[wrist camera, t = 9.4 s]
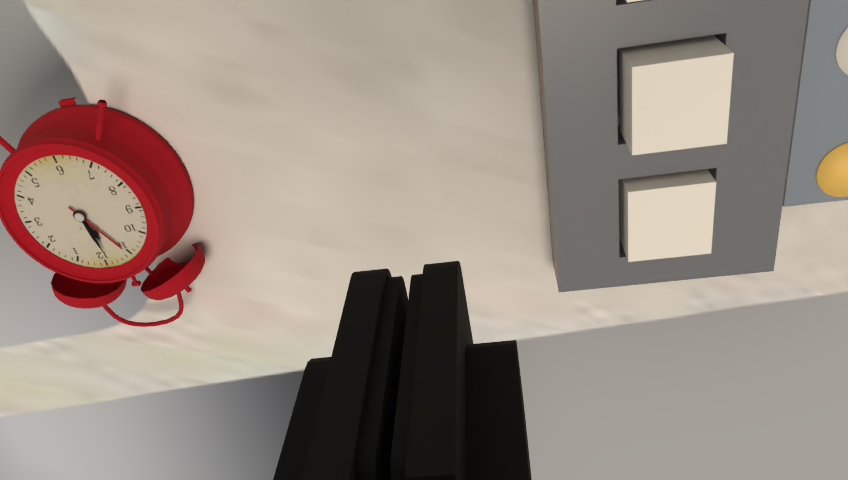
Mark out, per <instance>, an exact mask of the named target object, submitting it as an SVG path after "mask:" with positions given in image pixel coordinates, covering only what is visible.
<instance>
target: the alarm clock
mask: <svg viewBox="0 0 848 480" xmlns="http://www.w3.org/2000/svg"><path fill="white" fill-rule="evenodd" d="M75 98H76V97H73V98H67V99H62V100H60V101H59V104H60V106H61V108H58V109H54V110H53V111H50V112H48V113H46V114H44V115H43V116H41V117H40V118H39V119H37V120H36V121H34V122H33V123H32V124H31V125H30V126H29V127H28V129H27V130H26V131H25V133H24V134H23V136H22V137H21V139H20V142H19V144H18V148H17V149H16V150H15V149H14V148H13V147H12V146H11V145H10V144H8V143H7V142H6V141H5V140H4V139H3V138H2V137H1V136H0V144H1V145H2V146H3V147H4V148H5V149H7V150H8V151H9V152H10V153H11V154H10V155H9V157H8V158H7V159H6V160H5V162H4V163H3V165H2V167H1V170H0V218H1V221H2V222H3V224H4V226H5V228H6V230H7V231H8V233H9V234H10V235H11V237H12V238H13V239H14V241H15V242H16V243H17V244H18V245H19V247H21V248H22V249H23V250H24V251H25V252H26V253H27V254H28V255H29V256H31V257H32V258H33V259H35V260H36V261H37V262H39V263H40V264H42V265H43V266H45V267H47V268H48V269H50V270H52V271H54V272H56V273H55V274H54V276H53V279H52V282H51V285H52V289H53V292H54V294H55V296H56V297H57V298H58V299H59V300H60V301H61V302H63V303H64V304H66V305H69V306H72V307H76V308H96V307H101V306H103V307H104V309H105V310H106V311H107V312H108V313H109V314H110V315H111V316H112V317H113V318H115V319H117V320H118V321H120V322H122V323H125V324H128V325H132V326H143V327H145V326H157V325H162V324H167V323H169V322H172V321H174V320H176V319H177V318H179V317H180V315H181V314H182V312H183V300H182V296H181V291H182V290H184V289H185V290H186V291H187V292H191V290H192V289H191V288H190V287H189V285H190V284H191V283H192V282H193V281H194V280H195V279H196V277H197V276H198V275H199V274H200V272H201V270H202V268H203V266H204V262H205V257H204V254H203V252H202V250H201V249H200V248H199V246H197V245H196V244H193V245H192V246H193V247H194V248H195V249H196V251H197V252H196V253H195V255H194V256H193V258H192V259H191V261H190V262H188V263H185V264H177V263H175V262H173V261H172V260H170V259H169V258H166V259H165V260H164V261H163V262H162V263H160V264H159V265H158V266H157V267H156V268H155V269H154V270H153V271H151V270H150V269H149V268H148V266H149V265H150V264H151V263H152V262H153V261H154V260H155V258H156V257H157V256H159V255H161V254H163V253H165V252H166V251H168V250H169V249H171V248H172V247H173V246H174V245H176V243H177V242H178V241H179V240H180V239H181V238H182V236H183V235H184V233H185V232H186V230H187V228H188V226H189V224H190V221H191V218H192V214H193V206H194V199H193V190H192V186H191V182H190V179H189V176H188V174H187V172H186V169H185V168H184V166H183V164H182V162H181V160H180V159H179V157H178V156H177V155H176V153H175V152H174V151H173V149H172V148H171V147H170V146H169V145H168V144H167V143H166V142H165V141H164V140H163V139H162V138H161V137H160V136H159V135H158V134H157V133H156V132H154V131H153V130H152V129H150V128H149V127H148V126H146V125H145V124H143V123H141V122H140V121H138V120H137V119H135V118H133V117H131V116H129V115H126V114H124V113H122V112H119V111H116V110H113V109H109V108H105V107H106V106H107V103H106V101H105V100H99V101H98V103H97V105H98V106H94V105H76V103H75V101H74V99H75ZM144 269H145V270H146V271H147V272H148V273H149V275H148V277H147V278H146V279H145V281H144V282H143V284H142V287H141V291H142V292H143V293H144V294H145V295H146V296H147V297H148V298H150V299H154V300H162V299H166V298H170V297H172V296H174V295H176V294H177V297H178V301H179V311H178V313H177V314H176V315H175V316H173V317H171V318H169V319H167V320H162V321H157V322H149V323H141V322H132V321H128V320H125V319H123V318H121V317H119V316H118V315H116V314H115V313H114V312H113V311H112V310H111V309H110V308H109V307H108V306H107V304H109V303H111V302H113V301H114V300H116V299H117V298H118V297H119V296H120V295H121V293H122V292H123V290H124V288H125V286H126V281H127V279H128V278H130V277H131V278H132V280H133V282H132V286H139V285H141V282H140V281H137V280H136V278H135V276H134V275H136V274H138V273H139V272H141V271H143V270H144Z"/></svg>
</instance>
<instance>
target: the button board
mask: <svg viewBox="0 0 848 480" xmlns="http://www.w3.org/2000/svg"><path fill="white" fill-rule="evenodd" d="M808 4H809V0H641V1H635V2H628V3H627V2H626V1H625V0H534V13H535V27H536V40H537V53H538V67H539V80H540V93H541V107H542V120H543V133H544V147H545V160H546V173H547V187H548V200H549V213H550V227H551V240H552V253H553V265H554V270H555V275H556V280H557V285H558V290H559V292H566V291H576V290H586V289H596V288H607V287H617V286H627V285H637V284H647V283H657V282H667V281H677V280H687V279H697V278H707V277H717V276H727V275H737V274H748V273H758V272H768V271H774V263H775V256H776V248H777V241H778V233H779V225H780V218H781V210H782V202H783V195H784V187H785V179H786V172H787V164H788V157H789V149H790V141H791V134H792V126H793V118H794V111H795V103H796V95H797V88H798V80H799V73H800V65H801V57H802V50H803V42H804V34H805V27H806V19H807V11H808ZM709 35H714V36H715V37H716V38H717V39H719V40H720V41H721V42H722V43H723V44H724V45H725V46H726V47H728V48H729V49H730V50H731V51H732V52H733V53H734V58H733V71H732V83H731V96H730V109H729V122H728V135H727V144H721V145H713V146H705V147H697V148H689V149H681V150H672V151H664V152H656V153H648V154H640V155H632V154H631V152H630V150H629V148H628V146H627V144H626V142H625V140H624V138H623V136H622V134H621V132H620V82H619V48H625V47H632V46H639V45H646V44H653V43H660V42H667V41H674V40H681V39H688V38H695V37H702V36H709ZM702 169H708V171H709V172H710V173H711V175H712V176H713V178H714V179H715V181H716V193H715V207H714V221H713V235H712V249H711V254H702V255H692V256H682V257H673V258H663V259H653V260H644V261H634V262H628V260H627V257H626V255H625V252H624V249H623V246H622V244H621V241H620V238H619V186H618V179H627V178H635V177H643V176H652V175H660V174H669V173H677V172H686V171H694V170H702Z"/></svg>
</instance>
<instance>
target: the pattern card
mask: <svg viewBox="0 0 848 480" xmlns="http://www.w3.org/2000/svg"><path fill="white" fill-rule="evenodd" d="M839 200H848V0H809V4H808V11H807V19H806V27H805V34H804V42H803V50H802V57H801V65H800V73H799V80H798V88H797V95H796V103H795V111H794V118H793V126H792V134H791V141H790V149H789V157H788V164H787V172H786V179H785V187H784V195H783V202H782V205H783V206H784V207H785V206H794V205H803V204H812V203H821V202H830V201H839Z"/></svg>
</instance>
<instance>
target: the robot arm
mask: <svg viewBox="0 0 848 480" xmlns="http://www.w3.org/2000/svg"><path fill="white" fill-rule="evenodd" d="M273 480H531V471H530V460H529V451H528V441H527V431H526V421H525V413H524V403H523V394H522V385H521V376H520V368H519V360H518V351H517V343H516V340H513V341H502V342H491V343H480V344H473V339H472V333H471V327H470V321H469V315H468V309H467V302H466V296H465V290H464V284H463V278H462V272H461V266H460V262H459V261H453V262H444V263H435V264H425V265H424V268H423V274H418V275H412V276H411V282H410V291H409V300H408V297H407V292H406V287H405V283H404V280H403V277H402V276H399V277H391V274H390V271H389V270H388V269H379V270H369V271H360V272H354V273H352V276H351V279H350V283H349V287H348V291H347V296H346V300H345V304H344V308H343V312H342V316H341V320H340V324H339V328H338V332H337V337H336V341H335V345H334V349H333V353H332V357H326V358H315V359H311V360H310V361H309V362H308V363H307V366H306V368H305V371H304V374H303V378H302V381H301V385H300V388H299V392H298V395H297V399H296V402H295V406H294V409H293V413H292V416H291V420H290V423H289V427H288V430H287V434H286V437H285V441H284V444H283V447H282V451H281V454H280V458H279V462H278V465H277V468H276V472H275V476H274V479H273Z"/></svg>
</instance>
